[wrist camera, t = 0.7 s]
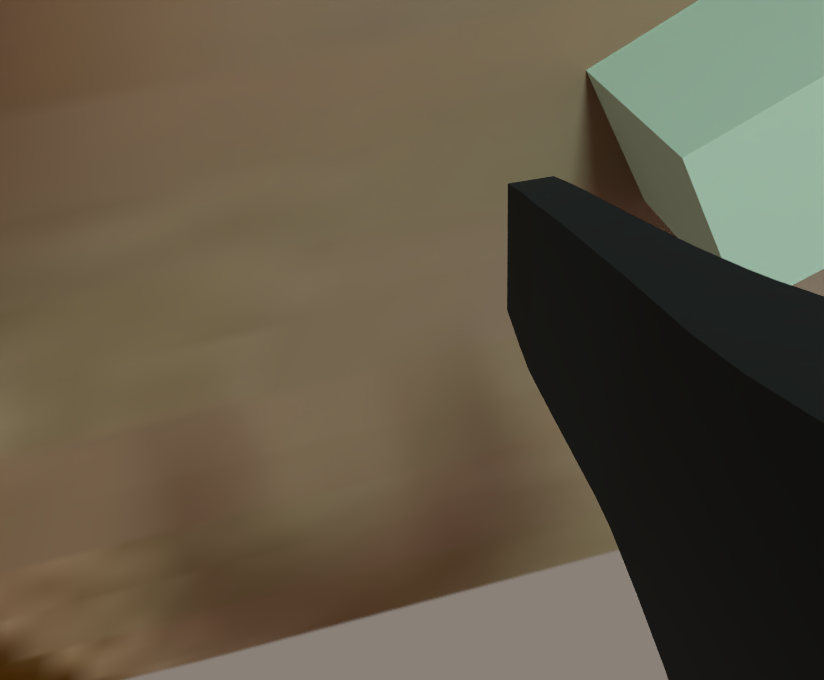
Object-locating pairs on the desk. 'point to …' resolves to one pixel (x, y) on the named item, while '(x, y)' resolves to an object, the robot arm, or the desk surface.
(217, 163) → the desk surface
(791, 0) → the block
